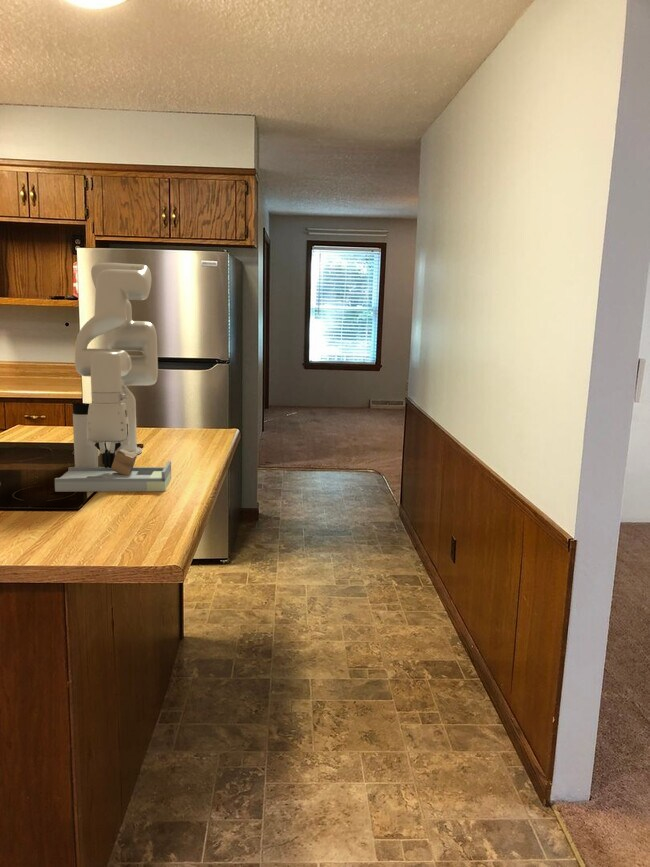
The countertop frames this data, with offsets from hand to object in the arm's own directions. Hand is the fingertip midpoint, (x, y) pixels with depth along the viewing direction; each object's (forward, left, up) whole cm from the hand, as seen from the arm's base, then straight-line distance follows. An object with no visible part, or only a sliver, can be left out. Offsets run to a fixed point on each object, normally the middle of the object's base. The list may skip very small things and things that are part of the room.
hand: (109, 466), depth 169 cm
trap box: (+3, +2, -4) cm, 6 cm away
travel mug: (-13, -9, -4) cm, 17 cm away
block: (0, +3, -1) cm, 3 cm away
